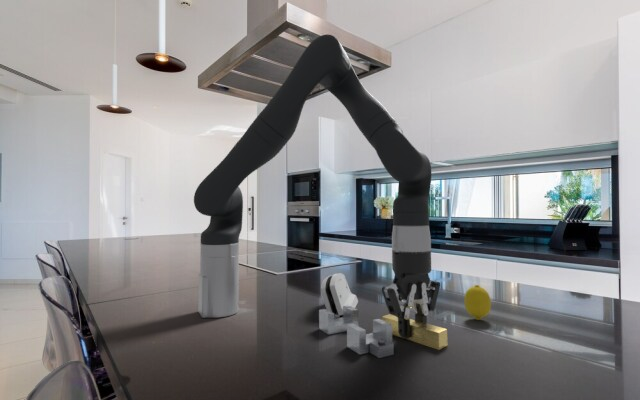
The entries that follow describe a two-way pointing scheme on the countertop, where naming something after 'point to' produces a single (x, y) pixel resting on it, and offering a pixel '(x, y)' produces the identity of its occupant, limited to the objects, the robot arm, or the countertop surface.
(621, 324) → the countertop surface
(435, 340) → the link bar
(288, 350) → the countertop surface
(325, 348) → the countertop surface
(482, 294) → the lemon
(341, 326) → the linkage with metal pins
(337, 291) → the white rounded housing
